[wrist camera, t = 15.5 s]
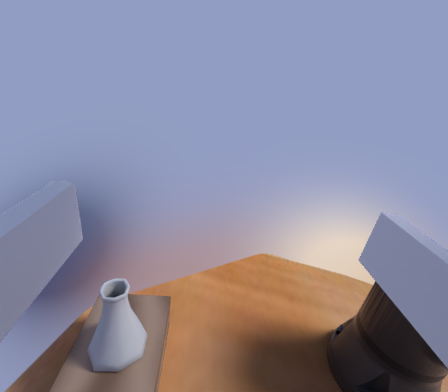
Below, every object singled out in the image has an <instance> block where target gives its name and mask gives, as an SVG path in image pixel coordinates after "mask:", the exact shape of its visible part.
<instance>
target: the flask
mask: <svg viewBox="0 0 448 392" xmlns="http://www.w3.org/2000/svg"><path fill="white" fill-rule="evenodd" d="M129 288H130V285H129V284H128V282H127V280H126V279H120V278H114V279H111V280H109V281H106V282H104V283H103V284H102V286H101V288H100V290H99V294H100V296H101V299H102V301H103V307H102V313H101V317H100V320H99V323H98V325H97V328H96V331H95V333H94V336H93V338H92V340H91V343H90V345H89V348H88V350H87V352H88V355H89V358H90V361H91V364H92V367H93V370H94V371H108V372H120V371H121V370H123V369H124V368H126V367H128V366H129V365H131V364H132V363H134V362H136V361H137V360H139V359H140V358H142V357H143V354H144V350H145V345H146V341H147V337H148V335H147V333H146V331H145V329H144V327H143V326H142V324H141V322H140V320H139V319H138V317H137V316H136V314H135V313H134V312H133V310H132V309H131V307H130V304H129V301H128V291H129Z"/></svg>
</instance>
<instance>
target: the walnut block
mask: <svg viewBox="0 0 448 392" xmlns="http://www.w3.org/2000/svg"><path fill="white" fill-rule="evenodd" d="M170 298H171V297H170V296H151V295H133V294H128V301H129V304H130V307H131V309H132V310H133V312H134V313H135V314H136V316H137V317H138V319H139V320H140V322H141V324H142V326H143V327H144V329H145V331H146V333H147V335H148V337H147V341H146V345H145V350H144V354H143V357H142V358H140V359H139V360H137V361H136V362H134V363H132V364H131V365H129V366H128V367H126V368H124V369H123V370H121V371H120V372H108V371H94V370H93V367H92V364H91V361H90V358H89V355H88V352H87V350H88V348H89V345H90V343H91V340H92V338H93V336H94V333H95V331H96V328H97V325H98V323H99V320H100V317H101V313H102V307H103V301H102V299H101V296H100V294H99V296H98V298H97V300H96V302H95V304H94V306H93V308H92V310H91V312H90V314H89V316H88V318H87V320H86V322H85V323H84V325H83V327H82V329H81V331H80V333H79V335H78V337H77V339H76V341H75V343H74V345H73V347H72V349H71V351H70V353H69V355H68V356H67V358H66V360H65V362H64V364H63V366H62V368H61V370H60V372H59V374H58V376H57V378H56V380H55V382H54V384H53V386H52V388H51V390H50V391H49V392H158V388H159V382H160V376H161V370H162V364H163V358H164V352H165V346H166V340H167V334H168V328H169V316H170Z"/></svg>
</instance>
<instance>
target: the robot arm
mask: <svg viewBox="0 0 448 392" xmlns="http://www.w3.org/2000/svg"><path fill="white" fill-rule="evenodd" d="M82 239H83V236H82V230H81V222H80V215H79V207H78V201H77V193H76V186H75V182H72V181H62V180H53V181H51V182H50V183H48V184H47V185H45V186H44V187H42V188H41V189H39V190H37V191H36V192H34V193H33V194H31V195H30V196H28V197H27V198H25V199H23V200H22V201H20V202H19V203H17V204H16V205H14V206H12V207H11V208H9V209H8V210H6V211H5V212H3V213H2V214H0V342H1V341H2V340H3V338H4V337H5V336H6V335H7V334H8V332H9V331H10V330H11V329H12V327H13V326H14V325H15V324H16V322H17V321H18V320H19V319H20V317H21V316H22V315H23V313H24V312H25V311H26V310H27V308H28V307H29V306H30V305H31V303H32V302H33V301H34V300H35V298H36V297H37V296H38V295H39V293H40V292H41V291H42V290H43V288H44V287H45V286H46V285H47V283H48V282H49V281H50V280H51V278H52V277H53V276H54V275H55V273H56V272H57V271H58V270H59V268H60V267H61V266H62V265H63V263H64V262H65V261H66V260H67V258H68V257H69V256H70V255H71V253H72V252H73V251H74V250H75V248H76V247H77V246H78V245H79V243H80V242H81V241H82ZM359 261H360V263H361V264H362V265H363V266H364V267H365V269H366V270H367V271H368V272H369V273H370V275H371V276H372V277H373V278H374V280H375V283H374V285H373V287H372V288H371V290H370V292H369V294H368V296H367V297H366V299H365V301H364V303H363V304H362V306H361V308H360V310H359V312H358V314H357V315H355V316H354V317H352V318H351V319H349V320H348V321H346V322H345V323H343V324H342V325H340V326H339V327H338V328H337V329H336V330H335V331H334V333H333V335H332V337H331V339H330V341H329V343H328V349H327V354H328V361H329V365H330V368H331V370H332V373H333V375H334V377H335V379H336V381H337V382H338V384H339V385H340V387H341V388H342V390H343V391H344V392H440V390H441V384H442V380H443V379H444V378H445V376H446V375H447V374H448V251H447V250H446V249H445V248H443V247H442V246H441V245H439V244H438V243H436V242H435V241H434V240H432V239H431V238H429V237H428V236H427V235H425V234H424V233H423V232H421V231H420V230H418V229H417V228H416V227H414V226H413V225H411V224H410V223H409V222H407V221H406V220H404V219H403V218H402V217H400V216H399V215H397V214H392V213H381V214H380V216H379V219H378V220H377V223H376V225H375V227H374V229H373V231H372V233H371V235H370V237H369V239H368V241H367V243H366V246H365V248H364V250H363V252H362V254H361V256H360V258H359Z"/></svg>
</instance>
